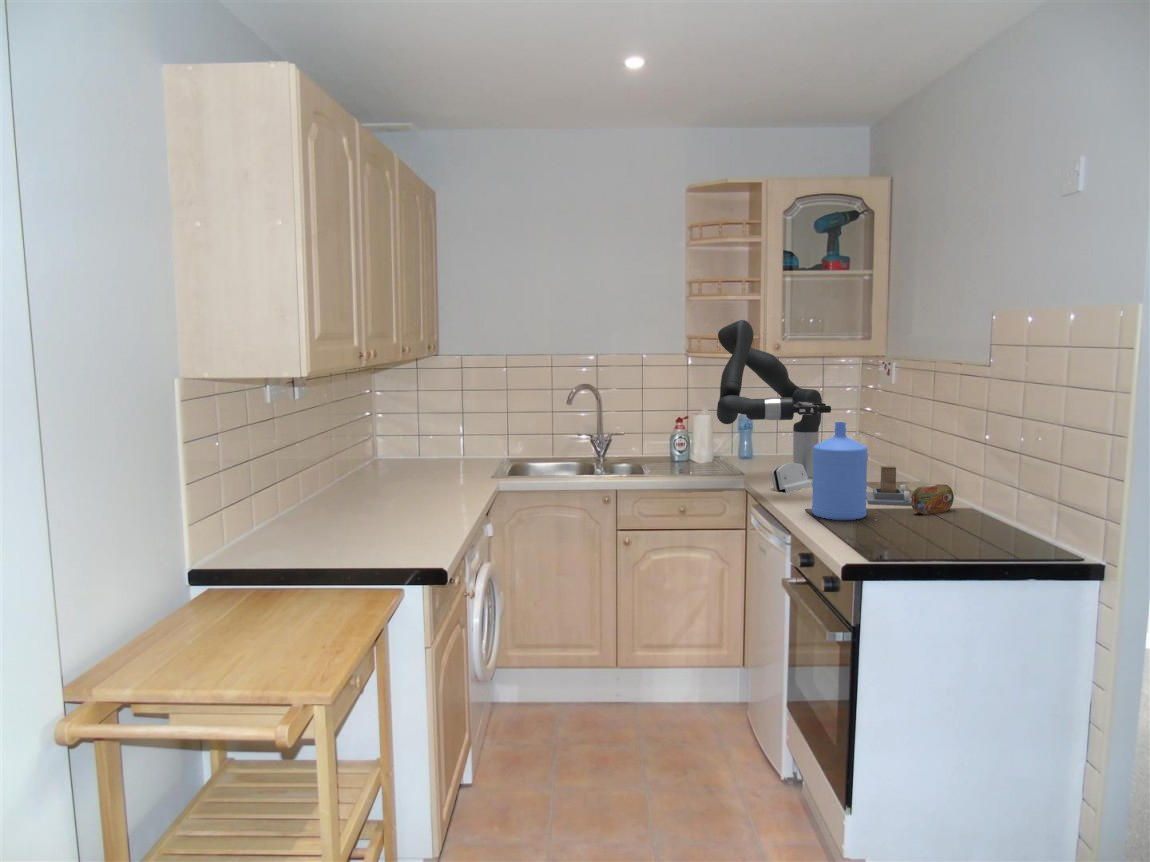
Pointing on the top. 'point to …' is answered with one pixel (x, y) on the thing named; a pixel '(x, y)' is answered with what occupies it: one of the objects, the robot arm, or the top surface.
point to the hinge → (790, 477)
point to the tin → (932, 499)
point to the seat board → (889, 497)
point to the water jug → (839, 477)
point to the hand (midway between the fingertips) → (828, 407)
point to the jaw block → (888, 479)
